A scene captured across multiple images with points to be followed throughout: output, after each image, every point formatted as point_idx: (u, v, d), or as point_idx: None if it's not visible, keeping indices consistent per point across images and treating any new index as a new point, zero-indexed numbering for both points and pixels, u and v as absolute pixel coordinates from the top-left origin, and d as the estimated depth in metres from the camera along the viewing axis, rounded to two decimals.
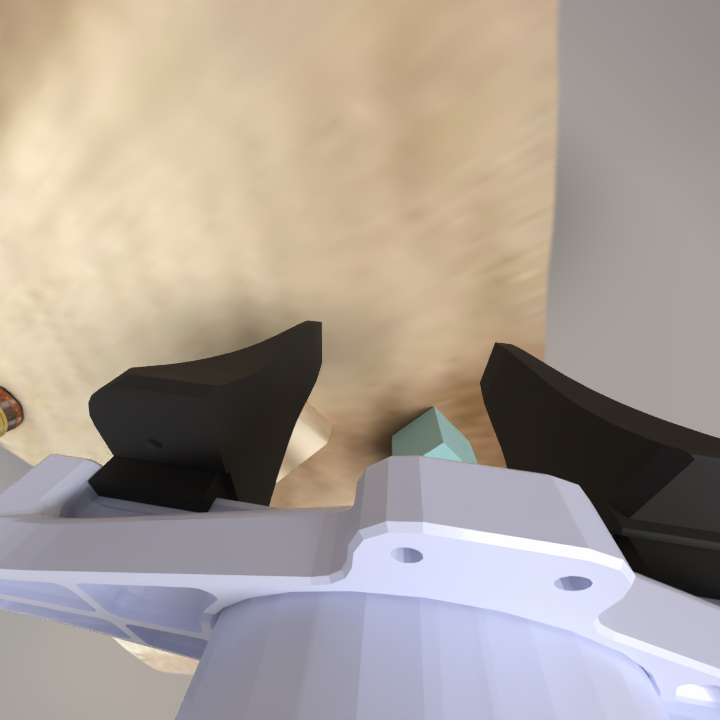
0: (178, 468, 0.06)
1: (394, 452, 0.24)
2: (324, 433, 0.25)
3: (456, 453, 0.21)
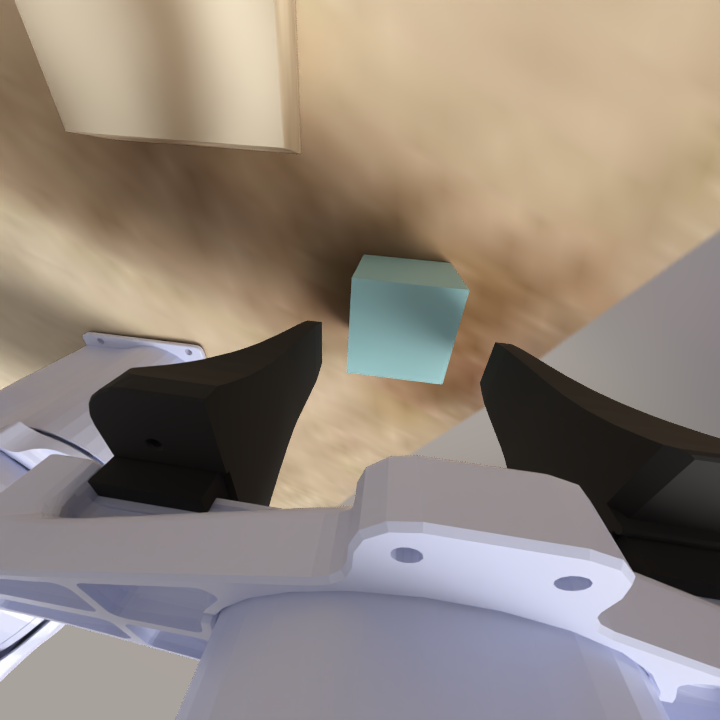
0: (178, 468, 0.06)
1: (364, 265, 0.14)
2: (288, 133, 0.12)
3: None
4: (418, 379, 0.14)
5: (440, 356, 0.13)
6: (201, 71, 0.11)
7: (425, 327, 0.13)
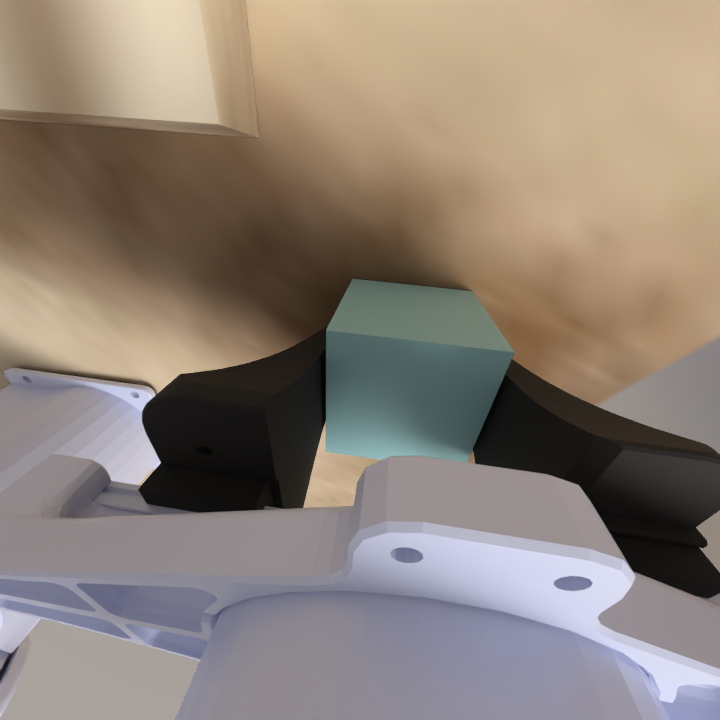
0: (226, 475, 0.06)
1: (350, 300, 0.10)
2: (229, 102, 0.08)
3: None
4: None
5: (462, 438, 0.09)
6: None
7: (441, 401, 0.08)
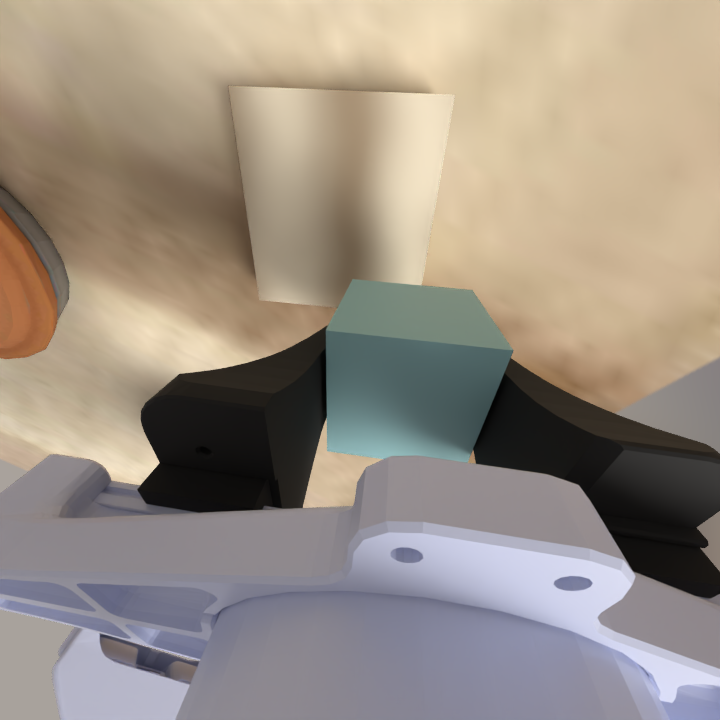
0: (226, 475, 0.06)
1: (349, 300, 0.10)
2: None
3: None
4: None
5: (462, 437, 0.09)
6: (368, 275, 0.16)
7: (441, 399, 0.08)
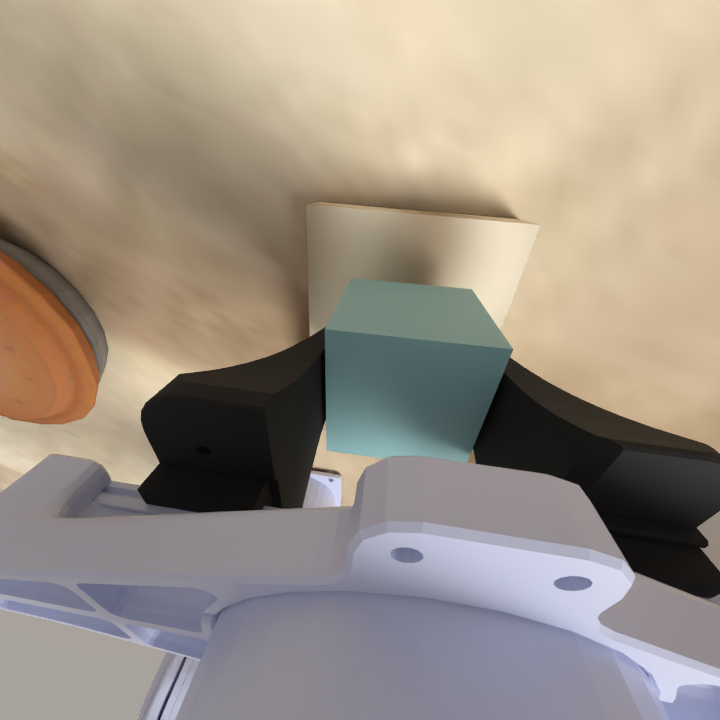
0: (226, 475, 0.06)
1: (349, 299, 0.10)
2: None
3: None
4: None
5: (462, 436, 0.09)
6: None
7: (440, 398, 0.08)
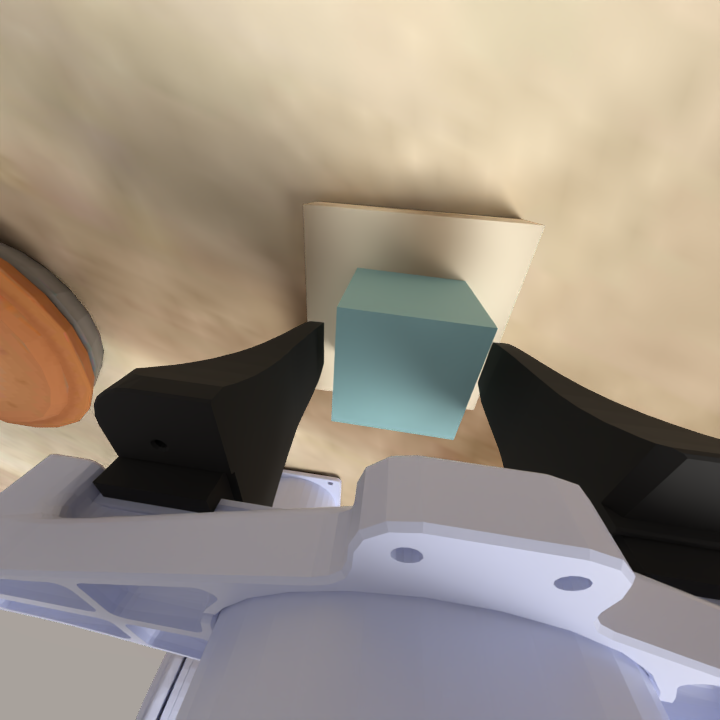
0: (183, 469, 0.06)
1: (356, 284, 0.11)
2: None
3: None
4: (423, 432, 0.11)
5: (452, 408, 0.10)
6: None
7: (435, 372, 0.10)
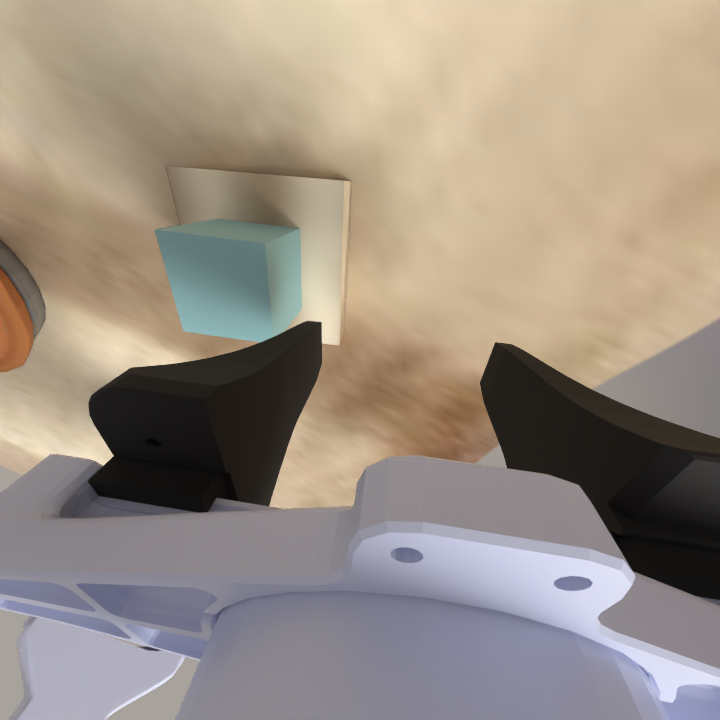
0: (178, 468, 0.06)
1: (195, 224, 0.14)
2: (341, 333, 0.20)
3: (270, 278, 0.13)
4: (250, 338, 0.15)
5: (262, 314, 0.14)
6: None
7: (238, 283, 0.13)
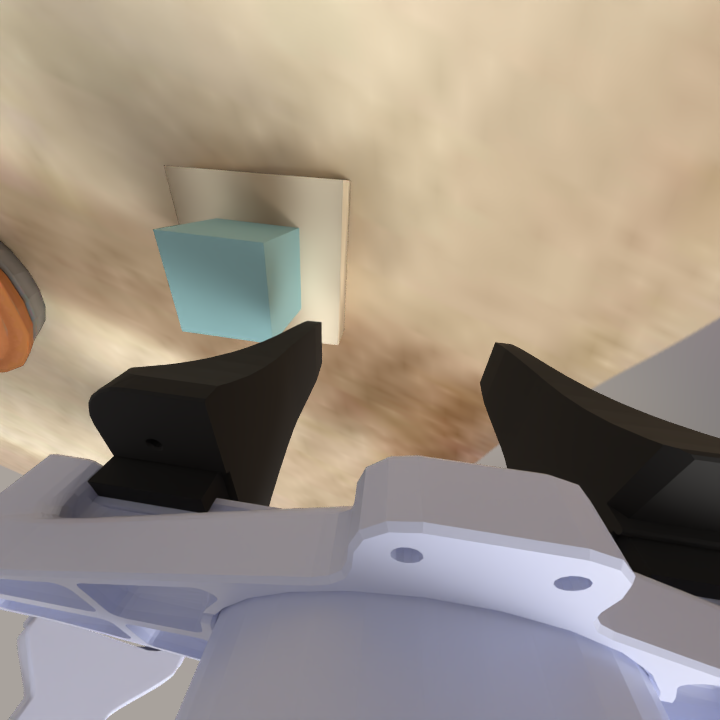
0: (178, 468, 0.06)
1: (194, 223, 0.14)
2: (340, 333, 0.20)
3: (269, 278, 0.13)
4: (249, 338, 0.15)
5: (261, 314, 0.14)
6: None
7: (237, 282, 0.13)
